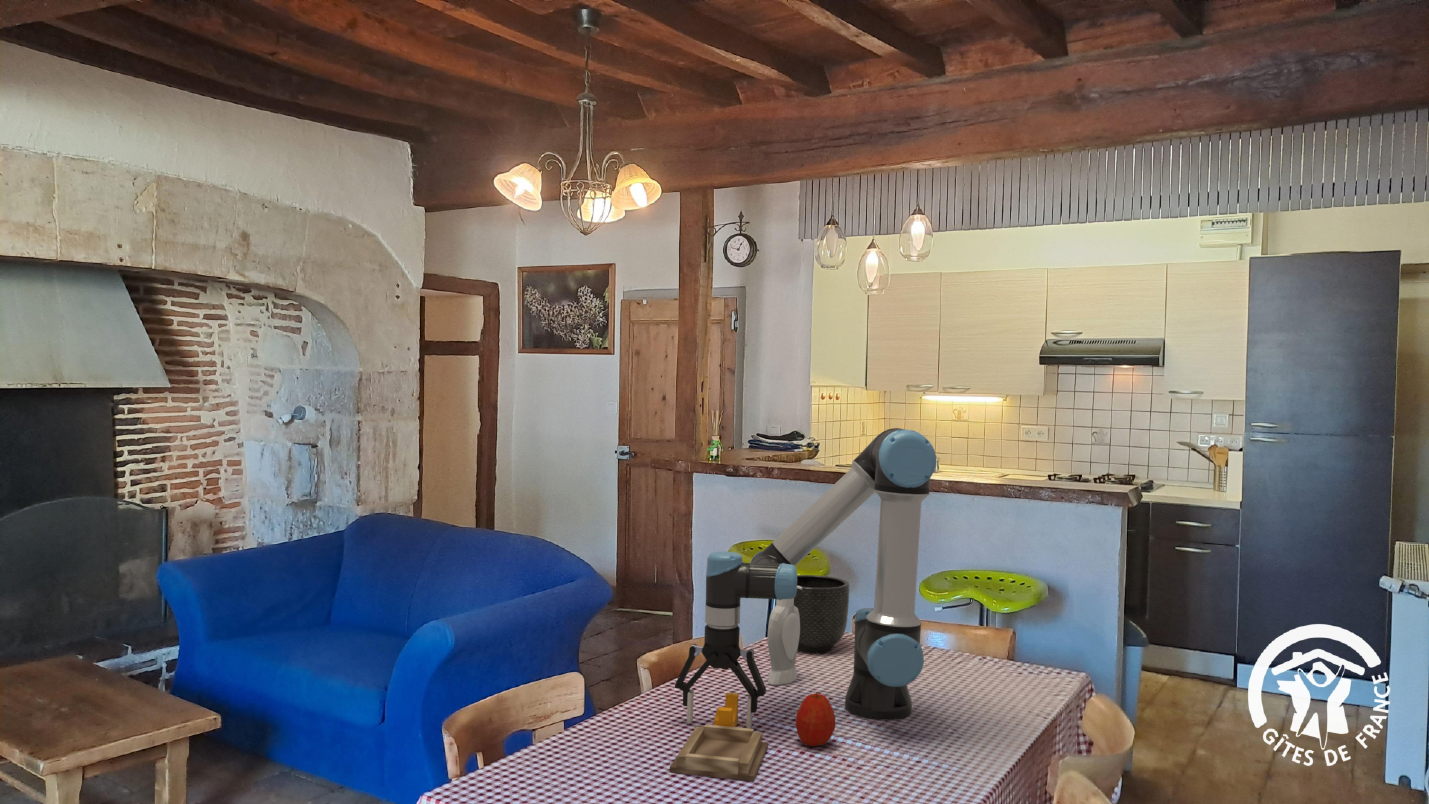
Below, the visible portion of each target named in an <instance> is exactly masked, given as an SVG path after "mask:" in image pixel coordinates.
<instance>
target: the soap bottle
mask: <svg viewBox="0 0 1429 804" xmlns="http://www.w3.org/2000/svg"><path fill="white" fill-rule="evenodd" d="M797 588H798V589H803V587H800V586H797ZM775 600H776V601H775V603H776V604H775V606H774V608H772V610H771V612H770V614H769V619H768V628H767V648H768V653H769V654H768V655H769V659H770V660H769V661H770V667H771V668H770V670H769V674H768V679H767V683H768V685H771V686H782V685H783V686H784V685H789V684H791V683H793V682H795V681H796V680H797V679H798V673H797V667H796V662H797V661H796V660H797V655H798V644H799V637H800V615H799V611H798V608H797V607H795V606H794V598H793V599H782V600H778V599H775Z"/></svg>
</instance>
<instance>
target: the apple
mask: <svg viewBox="0 0 1429 804" xmlns="http://www.w3.org/2000/svg"><path fill="white" fill-rule="evenodd" d="M835 728H836V715H835V712H834V708H833V707H832V704H831V703H830V701H829V700H828V698H827V697H826V695H824V694H820V693H818V692H817V691H816V692H815V693H810V694H807V696H805V697H804V699H803V700H802V702H801V704H800V706H799V708H798V710H797V712H796V717H795V729H796V733H797V736H798V738H799V740H800V742H801V743H802V744H803V745H805V746H808V747H817V746H822V745H825V744H827V743H829V741H830V740H831V738H832V736H833V734H834V732H835Z"/></svg>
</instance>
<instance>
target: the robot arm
mask: <svg viewBox="0 0 1429 804" xmlns="http://www.w3.org/2000/svg"><path fill="white" fill-rule="evenodd" d="M936 466H937V454H936V451H935V448H934V446H933V444H932V443H931V442H930V441H929V440H928V439H927V437H926V436H924V434H922V433H920V432H918V431H916V430H913V429H907V428H906V429H905V428H900V427H899V428H898V427H895V428H894V427H893V428H888V429H885V430H883V431H882V432H881V433H879V434H878V435H877V436H876V437H874V438H873V440H872V441H871V442H870V443H869V444H868V445H867V446H865V448H864V449H863V450H862V451H861V452H860V453H859V454H858V456H857V457H856V458H854V460H852V462H851V468H850V469H849V470H848V471H847V472H846V473H845V474H844V475H842V476H841V478H839V480H838V481H836V482H835V483H834V484H833V485H832V486H831V487H830V488H828V490H826V492H824V493H823V494H822V495H821V496H820V497H819V498H818V499H817V500H816V501H815V502H813V503H812V505H811V506H810V507H808V509H805V511H804V512H803V513H802V514H800V516H799V517H798V518H797V519H795V520H794V521H793V523H791V524H790V525H789V526H788V527H787V528H786V529H784V531H783V532H781V533H780V535H778V537H776V538H775V539H774V540H773V541H772V542H771V543H770V544H769V545H768V546H767V547H765V549H764V550H762V551H759V552H757V553H756V554H754V556H753V557H751V560H750V562H743V559H742V558H743V557H742V554H741V553H738V552H735V551H714V552H712V553H710V554H709V555H708V556H707V559H706V560H707V562H706V572H705V573H706V575H705V609H704V610H705V612H704V613H705V614H704V622H705V624H706V625H705V626H704V642H703V646H699V645H697V644H696V643H693V644H691V646H690V647H689V651H688V657H687V659H686V661H685V663H684V665H683V667H682V669H681V671H680V674H679V676H678V678H677V680H676V682H675V684H674V688H675V689H679V690H681V691H682V705H683V707H686V724H691V723H692V722H693V720H694V700H695V697H694V695H695V694H694V693H695V690H694V689H691V688H692V687H693V686H694V685H695V683H696V682H697V681H698V680H699V679H700V678H701V676H702V675H703V674H704V673H705V671H707V669H708V668H709V667H711V668H712V669H714V670H715V669H721V670H725V671H727V670H729V669H730V670H731V672H732V673H733V674H734V675H735V676H736V677H737V679H738V681H739V682H740V684H741V685H742V686H743V688H744V689H745V691H746V692H747V694H748V697H747V698H746V723H745V724H746V727H745V728H748V729H752V726H753V714H756V713H757V710H758V699H759V698H761V697H764V696H765V695H766V693H767V688H766V686H765V683H764V680H763V677H762V675H761V673H760V670H759V668H758V665H757V663H756V660H755V651H754V649H753V648H749V649H741V647H740V634H741V633H740V630H741V629H740V628H741V627H740V626H739V625H740V623H741V599H757V600H758V599H759V600H761V599H762V600H776V599H778V600H782V599H793V598H794V597H795V596H796V592H797V575H798V572H797V570H798V569H797V567H796V566H798V564H800V563H801V562H802V561H803V560H804V559H805V557H807V556H808V555H809V554H810V553H811V552H812V551H813V550H814V549H815V548H817V547H818V546H819V545H820V544H821V543H822V542H823V541H824V540H825V539H826V538H827V537H828V536H829V535H831V534H832V533H833V532H834V531H835V530H836V529H837V528H838V527H839V526H840V525H842V524H843V523H844V522H845V520H846V519H848V518H849V517H850V516H851V515H852V514H853V513H855V511H856V510H858V508H860V506H862V505H864V503H865V502H866V501H867V500H868V499H870V497H872V495H874V494H876V495H878V497H879V498H880V505H879V506H880V508H879V523H878V538H877V539H878V540H877V541H878V543H877V555H876V556H877V558H876V570H875V571H876V573H875V587H874V589H875V591H874V603H873V604H874V606H873V607H867V608H866V607H865V608H864V607H863V608H859V609H857V611H856V612H855V616H854V617H855V618H854V620H853V623H854V647H853V648H854V651H853V674H852V678H851V680H850V683H849V684H848V685H849V686H848V688H847V690H846V693H845V697H844V707H845V710H847V712H849V713H851V714H853V715H855V716H858V717H861V718H865V719H870V720H880V721H881V720H883V721H887V720H888V721H889V720H890V721H892V720H894V721H895V720H900V719H904V718H906V717H910V716H911V714H912V713H913V712H912V711H913V702H912V699H911V695H910V691H909V688H908V685H909V684H911V683H912V682H914V681H915V680H916V679H917V678H918V677H919V675H920V674H921V673H922V670H923V668H924V662H925V660H924V658H925V657H924V651H923V648H922V646H921V633H922V632H921V630H922V620H921V619H920V617H918V616H917V615H916V613H915V609H916V595H917V594H916V593H917V592H916V591H917V580H918V579H917V575H918V564H919V563H918V562H919V546H920V544H919V543H920V531H921V530H920V529H921V517H922V516H921V514H922V513H921V512H922V502H923V501H924V500H925V499H926V498H928V497H929V496H930V487H931V485H930V484H931V478H932V476H933V475H934V472H935V469H936ZM700 653H701V654H702V655H703V657H704V659H705V662H704V663H703V664H702V665H701V666H700V667H699V668H698V670H697V671H696V672H695V673H694V675H693V676H692V677H690V679H689V680H688V681H687V683H686V682H685V680H686V677H687V675H688V674H689V671H690V670H691V667H692V666H693V663H694V661H695V659H696V657H698V656H699V655H701V654H700ZM740 657H742V658H743V660H744V661H746V664H747V667H748V669H749V672H750V674H751V677H752V679H753V682H752V681H751V680H750V678H749V676H748V675H747V673H746V672H745V671H744V669H743V668H742V667H741V666H742V665H741V664H740V663H739V661H738V660H739V658H740Z"/></svg>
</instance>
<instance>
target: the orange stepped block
mask: <svg viewBox="0 0 1429 804" xmlns="http://www.w3.org/2000/svg"><path fill="white" fill-rule="evenodd" d="M738 723H739V693H737V692H726V694H725V700H724V706H718V707H717V709H716V711H715V716H714V719H713V725H718V726H728V727H737V726H738Z"/></svg>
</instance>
